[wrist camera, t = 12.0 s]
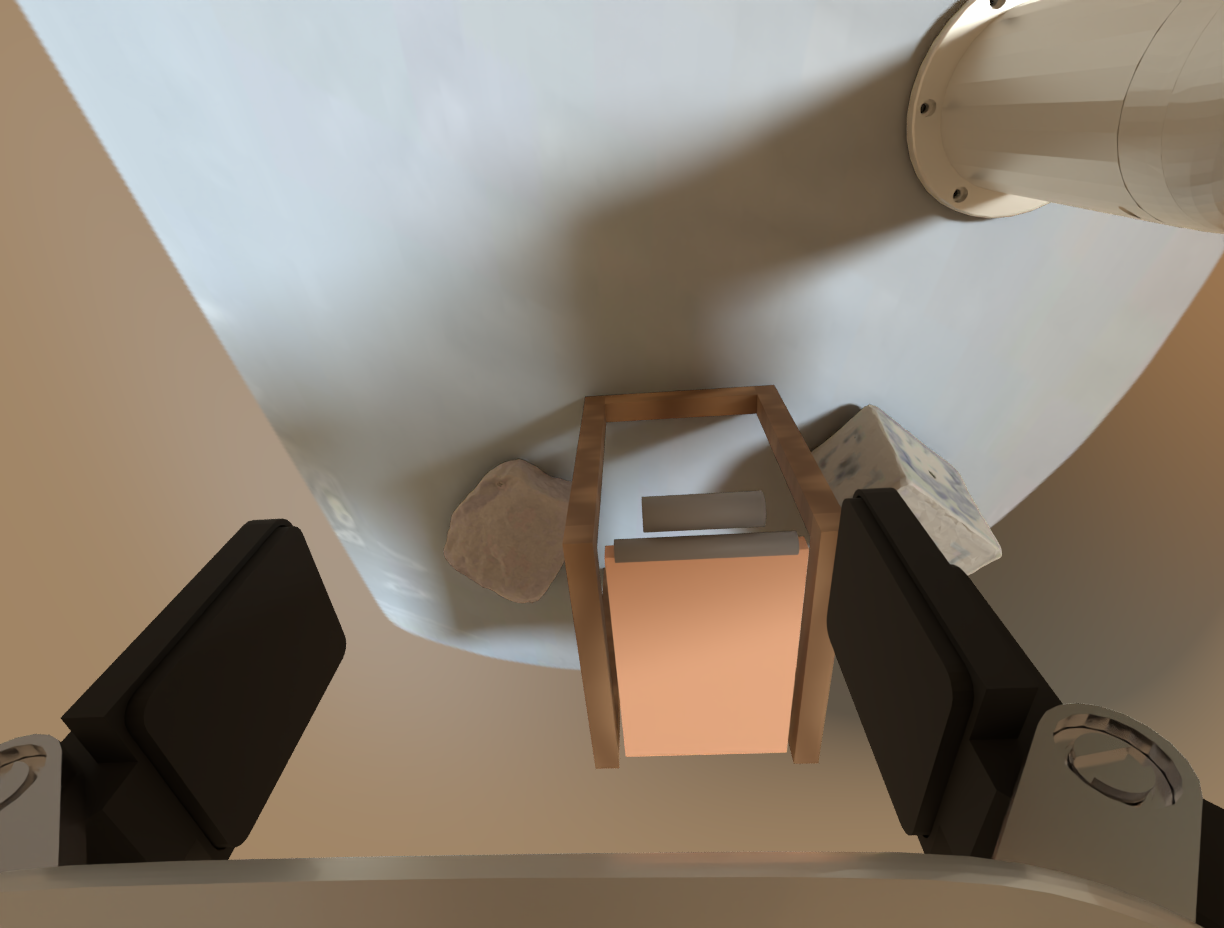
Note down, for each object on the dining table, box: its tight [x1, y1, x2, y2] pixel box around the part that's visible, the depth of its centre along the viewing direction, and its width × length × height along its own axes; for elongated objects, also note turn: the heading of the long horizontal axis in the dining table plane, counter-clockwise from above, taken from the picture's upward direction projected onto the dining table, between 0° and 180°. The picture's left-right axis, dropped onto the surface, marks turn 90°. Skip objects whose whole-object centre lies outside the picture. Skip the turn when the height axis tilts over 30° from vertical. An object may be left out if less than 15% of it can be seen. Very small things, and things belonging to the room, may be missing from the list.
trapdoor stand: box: [562, 385, 841, 769], centre depth 41 cm, size 14×18×18 cm
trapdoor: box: [605, 491, 809, 757], centre depth 34 cm, size 10×18×3 cm, turn 4°
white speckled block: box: [811, 405, 1002, 576], centre depth 43 cm, size 10×8×10 cm
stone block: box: [444, 459, 572, 603], centre depth 50 cm, size 12×5×10 cm
